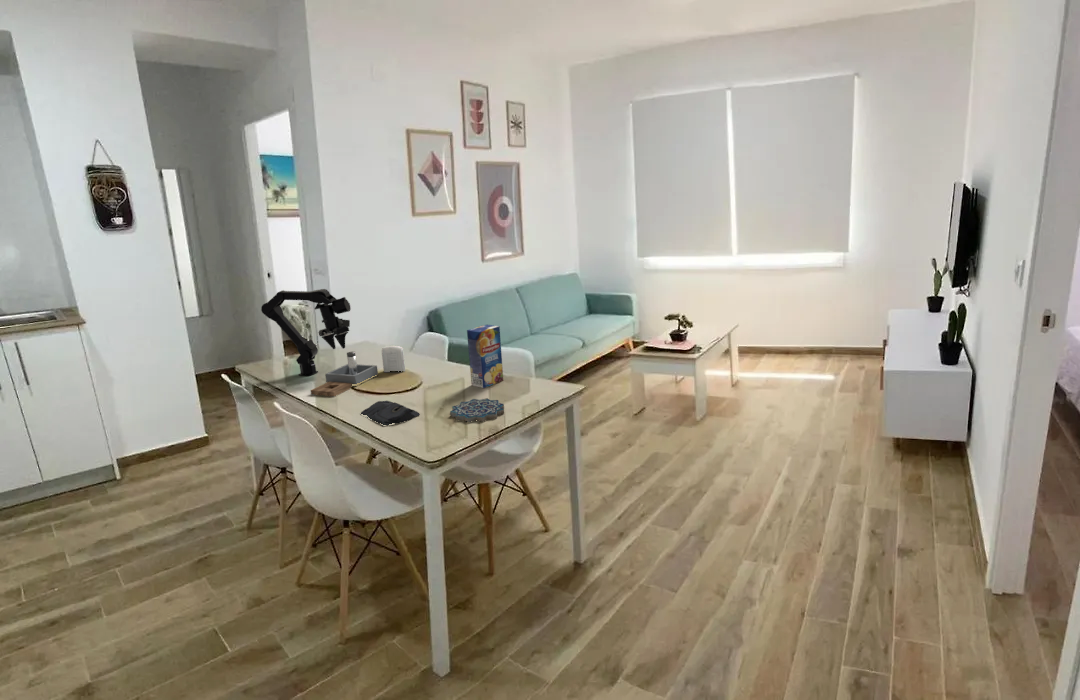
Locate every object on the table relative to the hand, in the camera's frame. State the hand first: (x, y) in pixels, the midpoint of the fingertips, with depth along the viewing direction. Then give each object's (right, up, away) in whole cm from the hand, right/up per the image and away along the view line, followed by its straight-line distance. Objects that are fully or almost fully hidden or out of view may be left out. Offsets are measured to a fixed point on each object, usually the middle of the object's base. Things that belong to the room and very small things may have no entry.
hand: (339, 348), depth 286 cm
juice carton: (+71, -15, -23) cm, 76 cm away
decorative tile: (+70, -25, -57) cm, 94 cm away
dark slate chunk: (+37, -26, -54) cm, 70 cm away
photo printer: (+26, -11, +1) cm, 28 cm away
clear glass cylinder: (+10, -13, -9) cm, 19 cm away
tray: (+9, -14, -8) cm, 19 cm away
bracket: (+4, -18, -23) cm, 29 cm away
